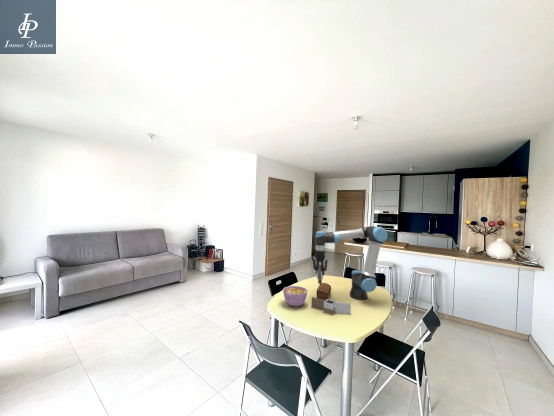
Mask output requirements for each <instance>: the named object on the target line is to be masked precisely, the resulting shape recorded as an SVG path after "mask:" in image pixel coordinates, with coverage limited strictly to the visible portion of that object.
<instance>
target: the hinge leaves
mask: <svg viewBox="0 0 554 416" xmlns="http://www.w3.org/2000/svg"><path fill="white" fill-rule="evenodd" d="M351 305H352V304H351V303H349V302H337V301H336V300H333V299H330V298H329V299H327V300H322V299H317V297H311V308H313V309H315V310H316V309H317V310H318V311H319V310H320V311H323V314H327V315H331V316H334V315H335V314H342V315H352V313H351V311H352V310H351V308H352V306H351Z"/></svg>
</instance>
